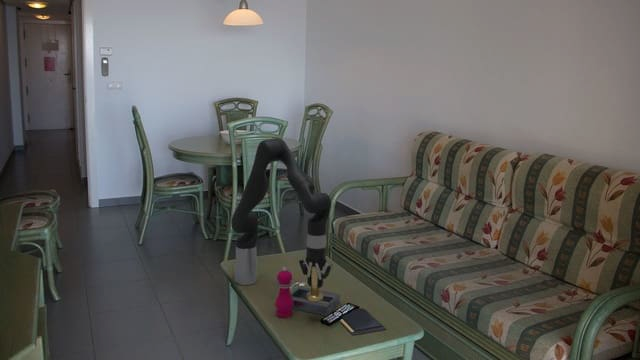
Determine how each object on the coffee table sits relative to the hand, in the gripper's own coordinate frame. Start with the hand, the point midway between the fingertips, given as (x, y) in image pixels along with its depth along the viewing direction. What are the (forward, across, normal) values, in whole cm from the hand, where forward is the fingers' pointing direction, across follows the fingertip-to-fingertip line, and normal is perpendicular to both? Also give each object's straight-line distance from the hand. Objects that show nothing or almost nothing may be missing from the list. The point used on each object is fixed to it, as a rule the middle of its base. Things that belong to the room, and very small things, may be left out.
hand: (315, 286), depth 219 cm
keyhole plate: (+14, -6, +12) cm, 19 cm away
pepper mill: (+14, -13, -1) cm, 19 cm away
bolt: (+5, 0, 0) cm, 5 cm away
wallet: (+15, +16, +6) cm, 23 cm away
